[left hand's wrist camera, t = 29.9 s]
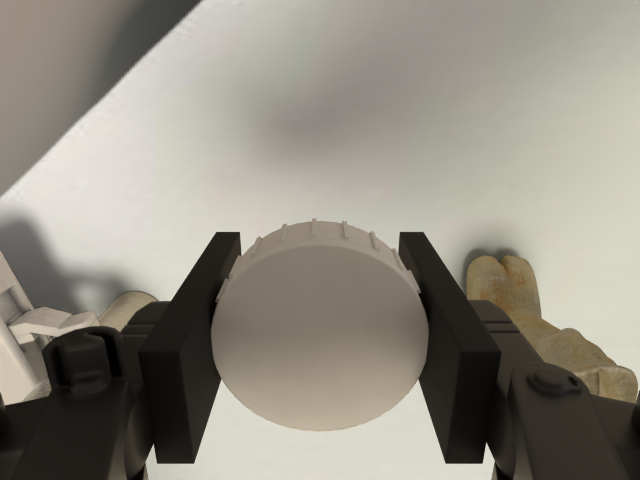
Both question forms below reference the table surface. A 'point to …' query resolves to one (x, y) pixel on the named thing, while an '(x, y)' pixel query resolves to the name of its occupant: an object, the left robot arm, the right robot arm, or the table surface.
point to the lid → (319, 327)
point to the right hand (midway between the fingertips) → (113, 359)
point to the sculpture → (546, 326)
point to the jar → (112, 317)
